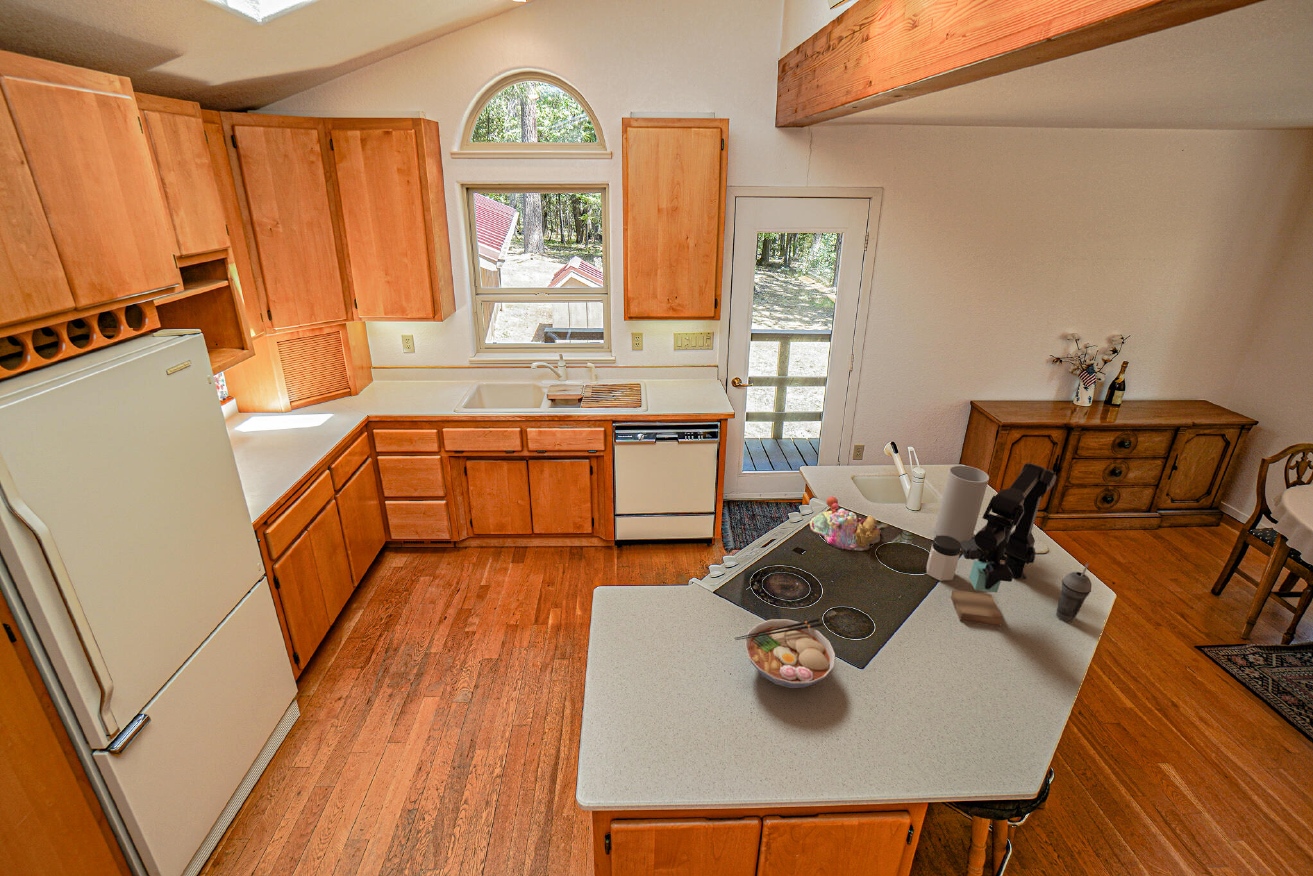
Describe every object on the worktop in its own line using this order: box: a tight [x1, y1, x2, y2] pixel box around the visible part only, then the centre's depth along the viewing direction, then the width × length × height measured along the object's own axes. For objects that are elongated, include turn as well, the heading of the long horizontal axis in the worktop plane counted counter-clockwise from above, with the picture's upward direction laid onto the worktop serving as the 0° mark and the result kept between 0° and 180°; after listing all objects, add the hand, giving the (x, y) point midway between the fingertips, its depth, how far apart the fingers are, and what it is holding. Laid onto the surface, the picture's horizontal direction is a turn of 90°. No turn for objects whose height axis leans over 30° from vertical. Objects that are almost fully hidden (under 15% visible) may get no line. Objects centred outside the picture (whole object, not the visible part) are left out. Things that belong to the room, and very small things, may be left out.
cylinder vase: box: [933, 464, 990, 542], centre depth 221 cm, size 12×12×25 cm
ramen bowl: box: [734, 617, 836, 689], centre depth 162 cm, size 25×23×8 cm
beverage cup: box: [1055, 562, 1093, 623], centre depth 182 cm, size 7×7×20 cm
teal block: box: [968, 560, 1002, 593], centre depth 182 cm, size 6×6×6 cm
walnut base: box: [950, 589, 1004, 627], centre depth 187 cm, size 11×11×3 cm
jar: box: [926, 535, 961, 582], centre depth 202 cm, size 9×8×12 cm
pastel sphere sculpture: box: [809, 496, 881, 551], centre depth 224 cm, size 25×24×9 cm
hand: (983, 582), depth 183 cm, fingers closed on teal block, 6 cm apart
